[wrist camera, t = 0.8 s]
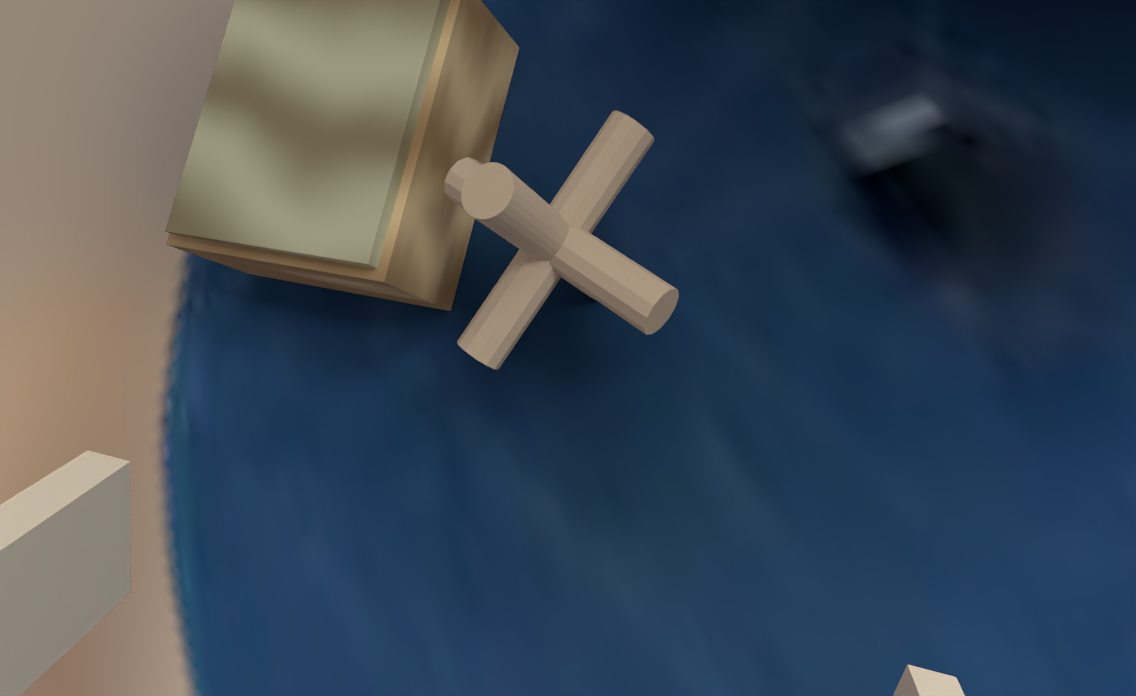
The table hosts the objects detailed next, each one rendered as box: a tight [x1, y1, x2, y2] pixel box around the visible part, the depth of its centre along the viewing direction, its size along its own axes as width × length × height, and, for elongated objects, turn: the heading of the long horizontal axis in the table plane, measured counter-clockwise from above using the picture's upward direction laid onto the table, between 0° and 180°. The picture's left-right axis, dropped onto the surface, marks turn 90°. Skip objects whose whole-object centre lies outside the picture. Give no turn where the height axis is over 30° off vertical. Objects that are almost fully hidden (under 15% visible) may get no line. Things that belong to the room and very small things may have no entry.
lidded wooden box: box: [166, 0, 519, 311], centre depth 35 cm, size 13×13×6 cm
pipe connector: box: [445, 111, 679, 370], centre depth 27 cm, size 10×10×10 cm
